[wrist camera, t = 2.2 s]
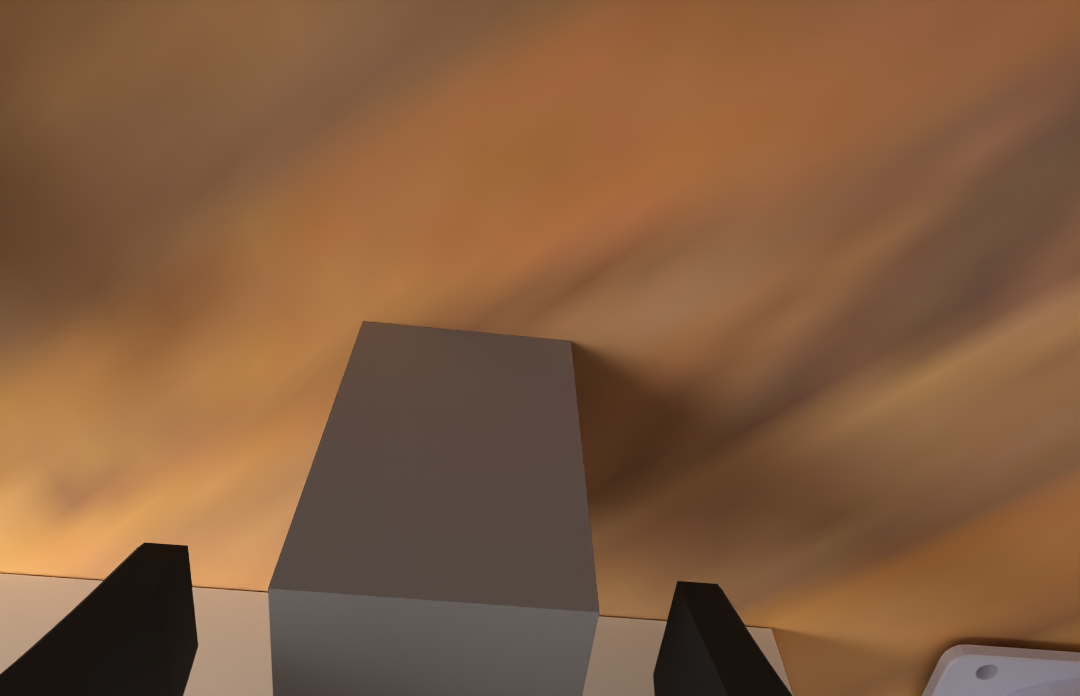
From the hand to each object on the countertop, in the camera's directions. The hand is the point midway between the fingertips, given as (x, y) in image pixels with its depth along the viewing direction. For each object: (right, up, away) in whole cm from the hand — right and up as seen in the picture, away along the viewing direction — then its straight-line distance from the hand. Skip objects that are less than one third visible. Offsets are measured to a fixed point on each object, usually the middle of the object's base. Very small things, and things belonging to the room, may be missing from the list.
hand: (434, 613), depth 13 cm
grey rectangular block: (0, +3, +5) cm, 5 cm away
